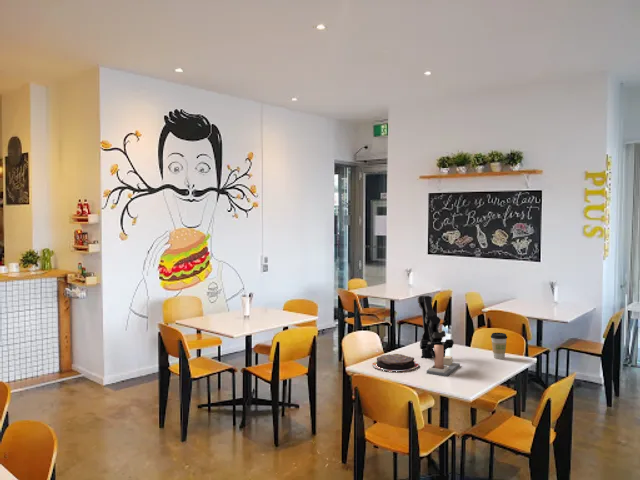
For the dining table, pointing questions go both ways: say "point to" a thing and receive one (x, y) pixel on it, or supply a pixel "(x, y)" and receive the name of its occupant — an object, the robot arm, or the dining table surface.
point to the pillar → (439, 356)
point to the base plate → (448, 367)
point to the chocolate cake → (395, 363)
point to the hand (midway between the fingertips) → (439, 357)
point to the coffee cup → (499, 345)
